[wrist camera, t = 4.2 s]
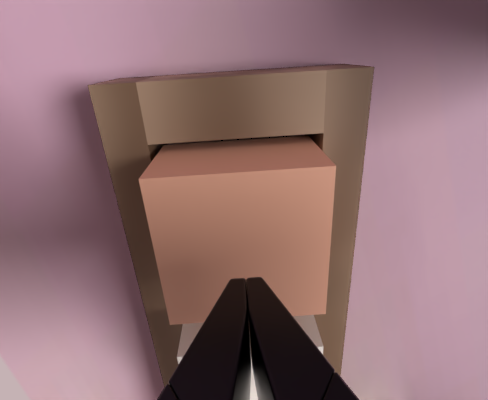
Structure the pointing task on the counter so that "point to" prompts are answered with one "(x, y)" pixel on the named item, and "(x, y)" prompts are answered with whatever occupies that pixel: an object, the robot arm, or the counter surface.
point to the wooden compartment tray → (237, 127)
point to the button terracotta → (240, 221)
